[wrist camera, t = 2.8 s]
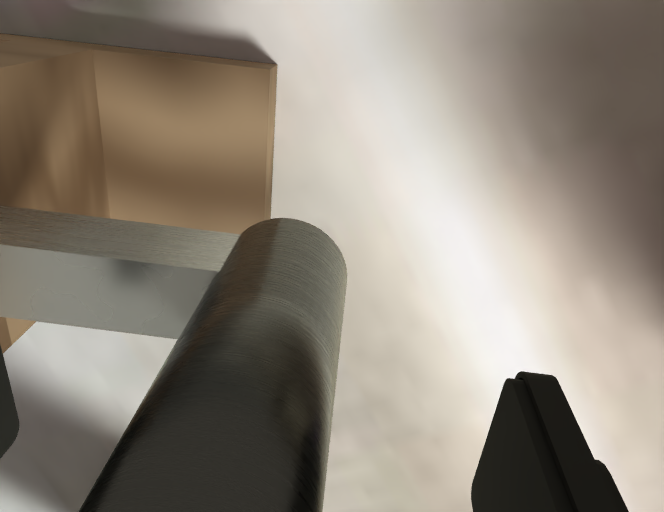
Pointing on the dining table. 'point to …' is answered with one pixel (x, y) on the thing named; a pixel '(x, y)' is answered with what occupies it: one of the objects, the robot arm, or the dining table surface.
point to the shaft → (198, 350)
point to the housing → (134, 137)
